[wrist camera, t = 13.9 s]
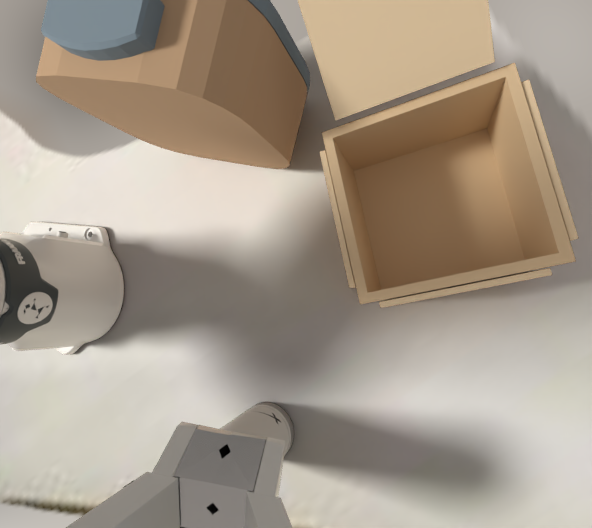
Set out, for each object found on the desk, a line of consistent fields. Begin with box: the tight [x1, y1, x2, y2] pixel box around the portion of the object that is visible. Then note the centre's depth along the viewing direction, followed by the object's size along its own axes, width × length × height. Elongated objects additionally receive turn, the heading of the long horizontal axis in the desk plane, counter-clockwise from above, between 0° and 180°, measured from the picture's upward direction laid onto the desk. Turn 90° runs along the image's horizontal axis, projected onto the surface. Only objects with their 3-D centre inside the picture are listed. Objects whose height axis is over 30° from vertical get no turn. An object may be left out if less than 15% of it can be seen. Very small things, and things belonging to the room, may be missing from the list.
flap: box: [298, 0, 495, 121], centre depth 26 cm, size 1×12×10 cm
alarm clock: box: [36, 0, 310, 169], centre depth 36 cm, size 21×10×22 cm, turn 75°
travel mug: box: [123, 402, 294, 528], centre depth 33 cm, size 6×7×20 cm
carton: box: [320, 63, 578, 308], centre depth 33 cm, size 16×16×10 cm
